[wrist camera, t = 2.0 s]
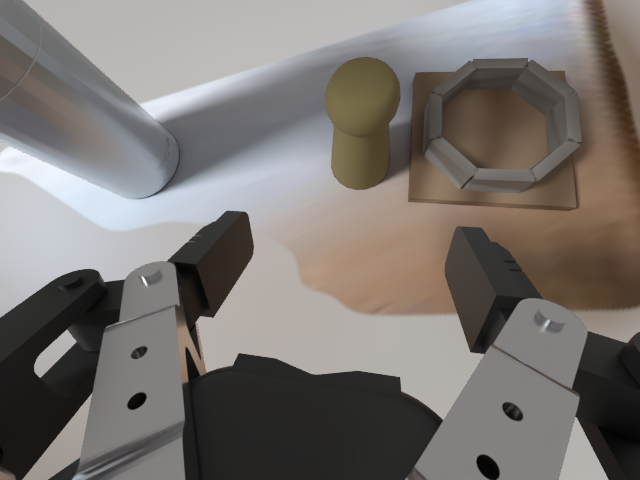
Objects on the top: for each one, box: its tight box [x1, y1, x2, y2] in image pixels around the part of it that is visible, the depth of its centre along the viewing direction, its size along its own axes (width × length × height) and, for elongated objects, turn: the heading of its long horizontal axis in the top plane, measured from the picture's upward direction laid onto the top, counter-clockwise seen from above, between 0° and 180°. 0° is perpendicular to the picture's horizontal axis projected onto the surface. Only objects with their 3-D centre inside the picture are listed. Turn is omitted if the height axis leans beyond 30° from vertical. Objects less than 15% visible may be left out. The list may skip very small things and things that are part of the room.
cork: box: [326, 57, 400, 190], centre depth 23 cm, size 6×6×11 cm
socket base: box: [408, 58, 582, 211], centre depth 25 cm, size 14×14×4 cm
